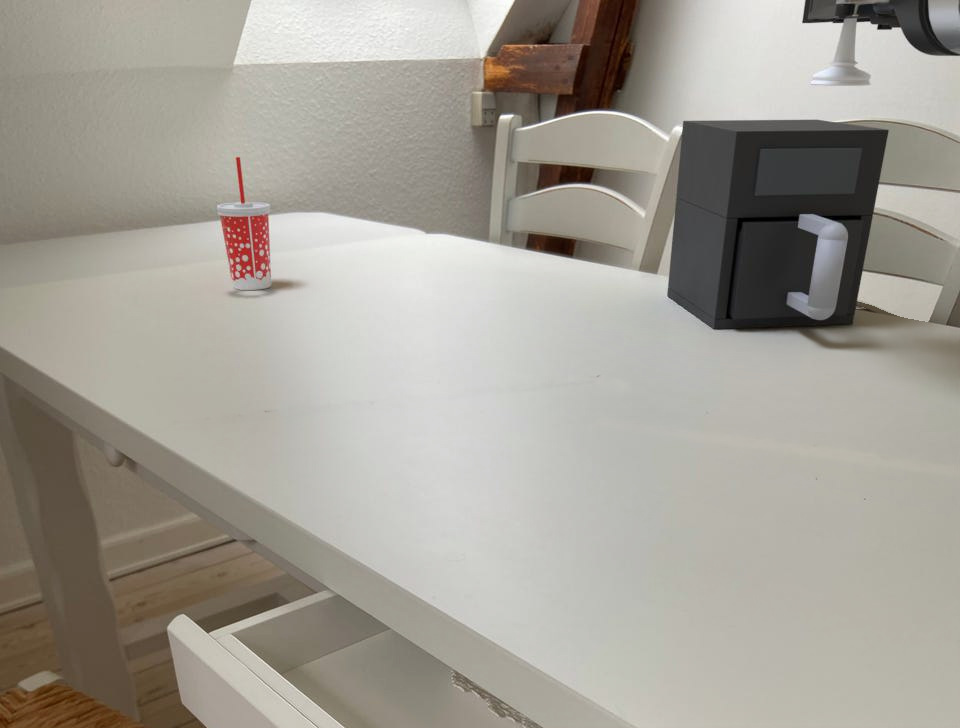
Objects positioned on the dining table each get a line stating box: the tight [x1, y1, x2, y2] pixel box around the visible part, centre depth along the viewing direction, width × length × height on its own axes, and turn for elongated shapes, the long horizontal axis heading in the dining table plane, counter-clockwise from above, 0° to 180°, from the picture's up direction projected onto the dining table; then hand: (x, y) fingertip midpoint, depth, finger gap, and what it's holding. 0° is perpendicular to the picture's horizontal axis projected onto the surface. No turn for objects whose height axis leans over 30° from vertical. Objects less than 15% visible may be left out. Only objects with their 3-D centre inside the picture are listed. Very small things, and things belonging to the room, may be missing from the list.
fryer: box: [666, 119, 889, 330], centre depth 105 cm, size 16×15×18 cm
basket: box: [727, 214, 863, 320], centre depth 102 cm, size 23×12×10 cm, turn 8°
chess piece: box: [810, 18, 872, 87], centre depth 84 cm, size 5×5×10 cm
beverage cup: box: [216, 156, 272, 291], centre depth 117 cm, size 6×6×14 cm
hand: (824, 5), depth 88 cm, fingers closed on chess piece, 2 cm apart
